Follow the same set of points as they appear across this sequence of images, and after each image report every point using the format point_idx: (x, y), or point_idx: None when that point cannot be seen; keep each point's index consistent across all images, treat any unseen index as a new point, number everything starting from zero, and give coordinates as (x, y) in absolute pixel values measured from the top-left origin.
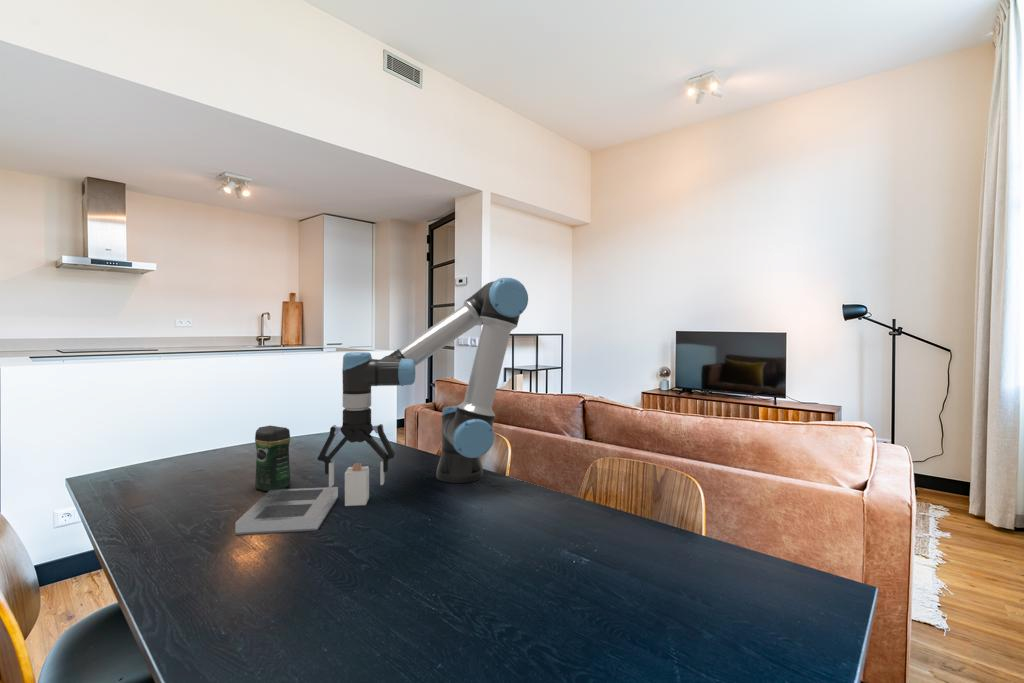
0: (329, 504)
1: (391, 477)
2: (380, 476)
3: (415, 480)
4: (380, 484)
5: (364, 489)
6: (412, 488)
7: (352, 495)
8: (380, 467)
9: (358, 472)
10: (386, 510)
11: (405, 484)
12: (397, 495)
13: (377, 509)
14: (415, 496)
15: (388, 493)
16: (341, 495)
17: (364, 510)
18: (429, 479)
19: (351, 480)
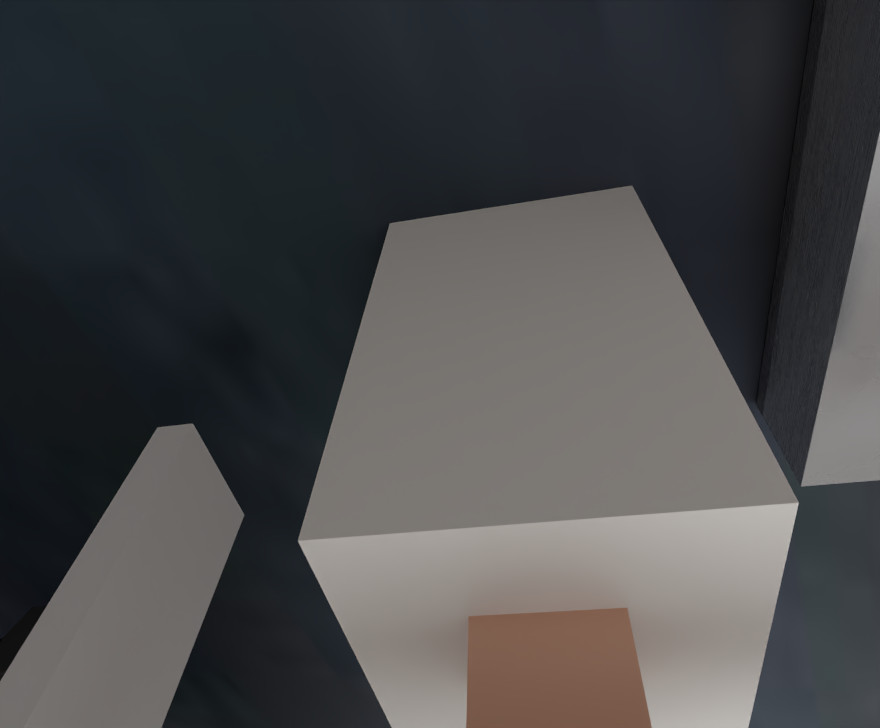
0: (860, 4)
1: None
2: (136, 522)
3: (223, 666)
4: (186, 427)
5: (381, 320)
6: None
7: (552, 257)
8: (48, 675)
9: (458, 527)
10: (50, 53)
11: (255, 619)
12: None
13: (181, 83)
14: (19, 429)
15: (297, 484)
16: None
17: (329, 39)
18: None
19: (597, 391)
